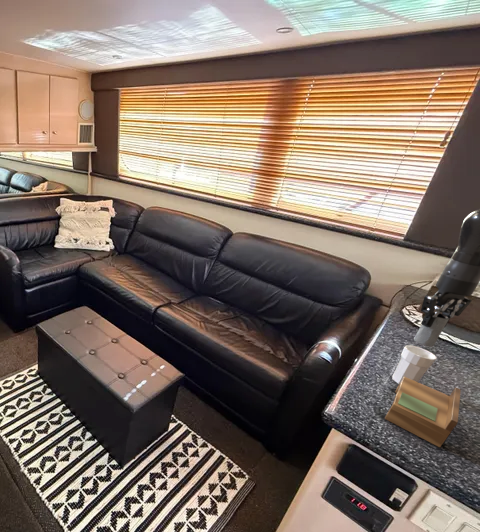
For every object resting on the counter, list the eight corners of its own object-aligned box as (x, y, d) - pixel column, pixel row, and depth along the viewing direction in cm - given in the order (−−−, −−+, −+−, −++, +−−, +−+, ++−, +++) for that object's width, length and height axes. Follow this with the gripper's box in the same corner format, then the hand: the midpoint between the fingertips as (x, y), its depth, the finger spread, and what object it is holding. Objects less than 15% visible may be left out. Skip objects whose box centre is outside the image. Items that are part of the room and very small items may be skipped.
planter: (414, 337, 105) (429, 309, 101) (434, 344, 102) (450, 316, 98) (412, 341, 102) (427, 313, 98) (432, 348, 99) (448, 320, 95)
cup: (395, 372, 100) (411, 343, 96) (422, 387, 95) (441, 357, 90) (383, 376, 98) (400, 347, 94) (411, 392, 92) (429, 361, 88)
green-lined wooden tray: (396, 389, 92) (409, 367, 89) (445, 412, 85) (461, 389, 82) (384, 418, 81) (398, 394, 78) (439, 447, 74) (458, 422, 71)
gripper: (455, 281, 89) (426, 332, 95) (497, 282, 91) (466, 333, 97) (425, 270, 96) (400, 319, 102) (465, 272, 98) (438, 320, 104)
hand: (432, 325), depth 100 cm, fingers closed on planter, 4 cm apart
